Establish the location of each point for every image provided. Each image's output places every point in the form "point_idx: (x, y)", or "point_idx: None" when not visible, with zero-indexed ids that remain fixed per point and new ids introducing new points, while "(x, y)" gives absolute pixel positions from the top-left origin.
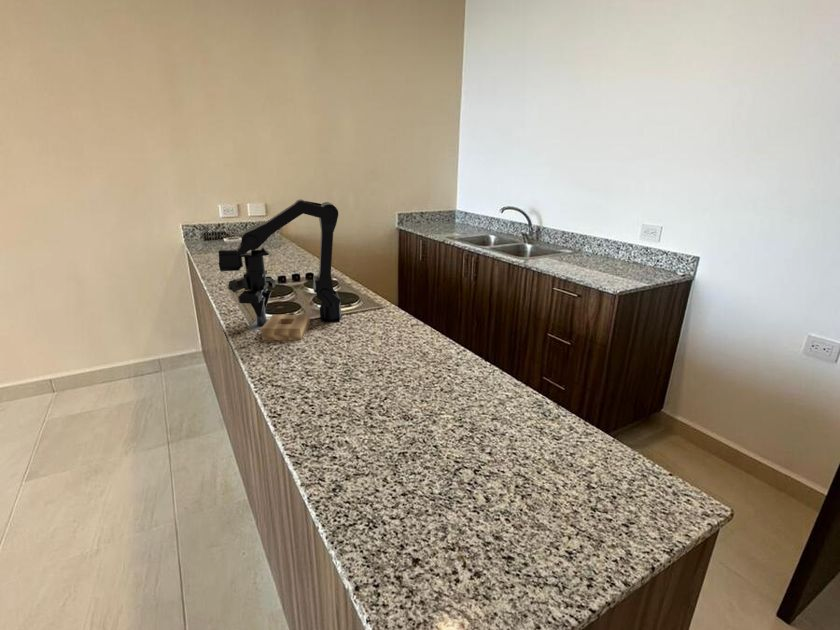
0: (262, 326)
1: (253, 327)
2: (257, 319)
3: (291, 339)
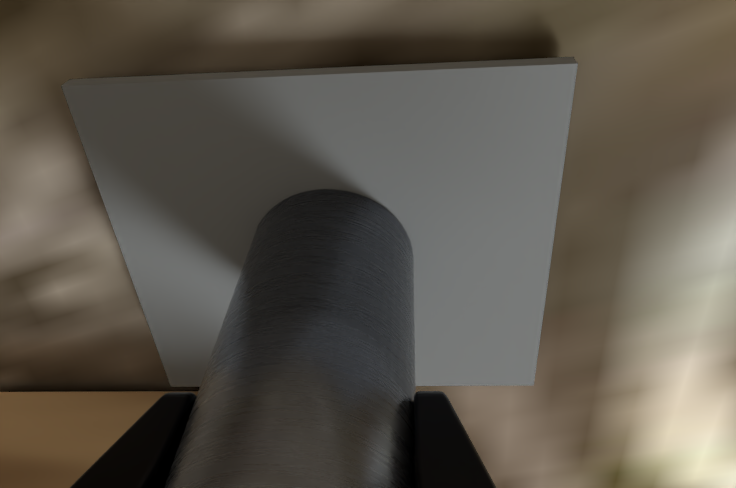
0: None
1: (183, 163)
2: (228, 311)
3: None
